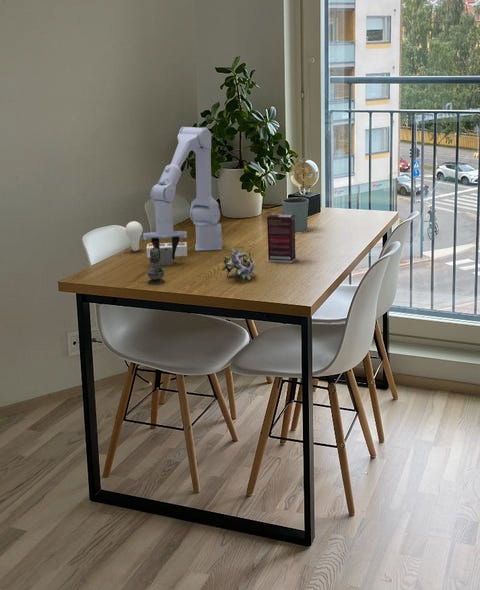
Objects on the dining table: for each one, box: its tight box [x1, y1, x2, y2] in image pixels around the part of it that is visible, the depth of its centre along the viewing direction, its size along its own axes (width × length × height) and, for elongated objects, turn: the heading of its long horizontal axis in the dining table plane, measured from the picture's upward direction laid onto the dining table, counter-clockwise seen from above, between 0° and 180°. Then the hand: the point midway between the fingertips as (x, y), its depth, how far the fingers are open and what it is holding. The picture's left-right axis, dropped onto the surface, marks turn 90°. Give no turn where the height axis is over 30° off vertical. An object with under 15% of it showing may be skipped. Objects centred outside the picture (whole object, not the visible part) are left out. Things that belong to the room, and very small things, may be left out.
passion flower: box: [222, 247, 256, 281], centre depth 284 cm, size 11×11×12 cm
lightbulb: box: [125, 220, 144, 252], centre depth 320 cm, size 6×6×11 cm
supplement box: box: [266, 213, 297, 264], centre depth 301 cm, size 9×5×16 cm, turn 71°
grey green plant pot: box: [281, 196, 310, 234], centre depth 343 cm, size 10×10×12 cm
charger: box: [160, 248, 174, 266], centre depth 304 cm, size 4×6×5 cm
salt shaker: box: [146, 246, 166, 285], centre depth 282 cm, size 6×6×12 cm
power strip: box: [146, 241, 188, 259], centre depth 315 cm, size 14×6×4 cm, turn 94°
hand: (166, 259), depth 304 cm, fingers closed on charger, 4 cm apart
